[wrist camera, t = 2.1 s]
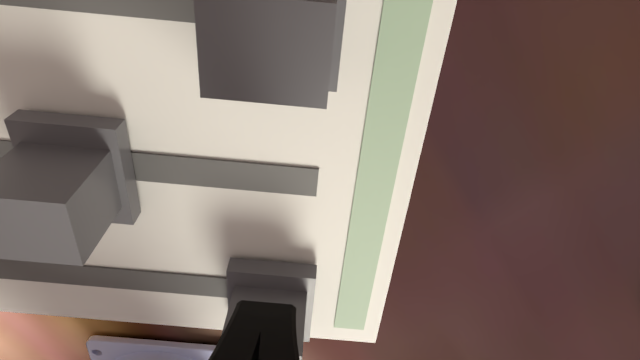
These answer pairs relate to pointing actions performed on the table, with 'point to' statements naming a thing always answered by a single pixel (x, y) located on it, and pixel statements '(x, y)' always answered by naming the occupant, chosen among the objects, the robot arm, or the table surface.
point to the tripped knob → (64, 185)
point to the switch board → (227, 160)
